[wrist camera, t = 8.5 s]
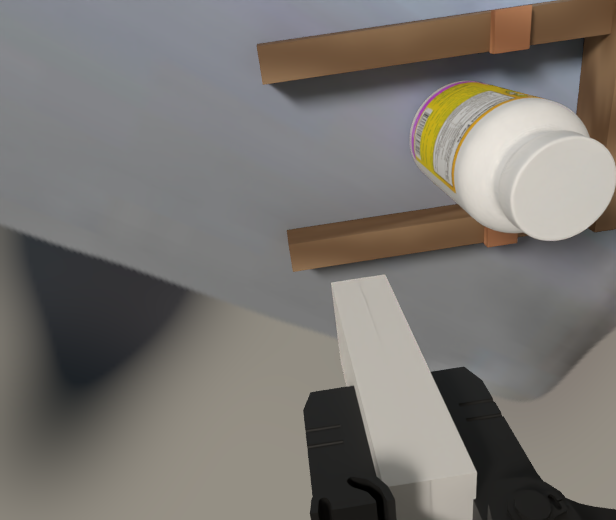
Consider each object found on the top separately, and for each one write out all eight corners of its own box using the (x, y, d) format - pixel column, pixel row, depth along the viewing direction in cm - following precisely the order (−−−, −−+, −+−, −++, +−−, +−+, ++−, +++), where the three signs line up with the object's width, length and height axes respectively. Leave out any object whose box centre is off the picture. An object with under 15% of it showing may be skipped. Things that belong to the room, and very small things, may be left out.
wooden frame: (256, 42, 30) (256, 45, 26) (613, -10, 30) (655, -13, 27) (291, 256, 36) (294, 280, 33) (585, 211, 36) (616, 230, 33)
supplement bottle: (521, 144, 34) (660, 209, 22) (435, 199, 35) (525, 289, 23) (479, 55, 31) (612, 77, 19) (387, 119, 32) (462, 175, 21)
